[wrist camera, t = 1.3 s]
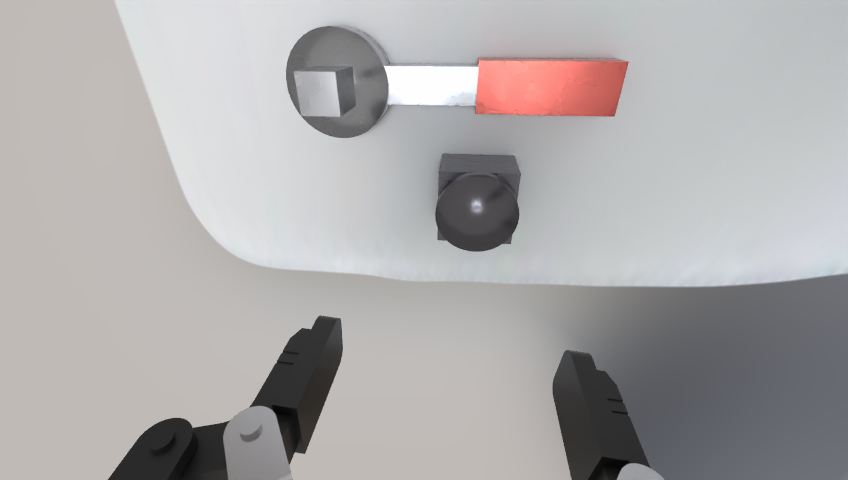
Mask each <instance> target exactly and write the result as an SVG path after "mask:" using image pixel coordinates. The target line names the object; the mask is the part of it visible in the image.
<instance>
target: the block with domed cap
mask: <svg viewBox="0 0 848 480" xmlns="http://www.w3.org/2000/svg"><path fill="white" fill-rule="evenodd" d="M520 176H521V174H520V171H519V168H518V165H517V162H516V159H515V156H500V155H468V154H443V155H442V159H441V164H440V168H439V192H438V202H437V207H436V214H435V215H436V223H437V226H438V240H447V241H448V242H449V243H451V244H452V245H454V246H456V247H458V248H460V249H463V250H467V251H486V250H490V249H493V248H495V247H498V246H499V245H501V244H511V239H512V234H513V232H514V231H515V229H516V227H517V224H518V220H519V208H518V204H517V197H518V190H519V183H520Z"/></svg>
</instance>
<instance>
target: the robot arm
mask: <svg viewBox="0 0 848 480" xmlns="http://www.w3.org/2000/svg"><path fill="white" fill-rule="evenodd" d="M342 351H343V344H342V329H341V320H340V318H333V317H326V316H319V317H318V318H317V319H316V321H315V323H314V325H313V327H312V329H304V328H302V329H301V330H299V331H298V332H297V333H296V334H295V335H294V336H292V337H291V338H290V340H289V341H288V343H287V345H286V346H285V348H284V350H283V353H282V354H281V355H280V357H279V359H278V360H277V363H276V364H275V365H274V367H273V369H272V371H271V372H270V374H269V376H268V378H267V379H266V381H265V383H264V384H263V386H262V388H261V390H260V392H259V393H258V395H257V397H256V398H255V400H254V402H253V403H252V405H251V406H250V407H249V408H247V409H245V410H243V411H241V412H239V413H238V414H237V415H236V416H234V417H233V419H231V420H230V421H227V422H224V423H220V424H214V425H208V426H202V427H196V428H192V426H191V424H190V423H189V422H188V421H187V420H185V419H181V418H171V419H167V420H164V421H161V422H159V423H157V424H155V425H154V426H152V427H151V428H149V429H148V430H146V431H145V432H144V433H143V434H142V435H141V436H140V437H139V439H138V440H137V441H136V442H135V444H134V445H133V447H132V448H131V449H130V451H129V452H128V453H127V455H126V456H125V457H124V459H123V460H122V461H121V463H120V464H119V465H118V467H117V468H116V470H115V471H114V472H113V473H112V475H111V476H110V478H109V479H108V480H293V479H292V475H291V471H290V467H289V464H290V462H291V460H292V458H293V455H294V453H295V452H297V453H303V454H305V452H306V450H307V447H308V445H309V442H310V439H311V437H312V434H313V432H314V429H315V426H316V424H317V421H318V419H319V416H320V414H321V411H322V409H323V406H324V403H325V401H326V398H327V395H328V393H329V391H330V388H331V385H332V383H333V380H334V378H335V375H336V372H337V370H338V367H339V365H340V362H341V357H342ZM553 397H554V402H555V406H556V410H557V415H558V420H559V424H560V429H561V433H562V438H563V442H564V447H565V451H566V456H567V460H568V465H569V469H570V474H571V478H572V480H664V479H663V478H662V477H661V476H660V475H659V474H658V473H656V472H655V471H654V470H652V469H651V468H650V466H649V464H648V461H647V459H646V457H645V454H644V452H643V449H642V447H641V444H640V442H639V439H638V437H637V434H636V432H635V429H634V427H633V424H632V422H631V420H630V417H629V416H628V412H627V410H626V407H625V405H624V404H623V402H622V401H623V400H622V397H621V395H620V392H619V390H618V388H617V385H616V384H615V383H614V381H613V380H612V379H611V378H610V377H609V375H608V374H607V373H606V372H605V371H599V370H597V369H596V367H595V364H594V361H593V359H592V356H591V355H590V354H589V353H584V352H577V351H569V350H566V351H565V352H564V354H563V357H562V359H561V362H560V364H559V367H558V369H557V372H556V374H555V377H554V380H553Z"/></svg>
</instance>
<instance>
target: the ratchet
mask: <svg viewBox="0 0 848 480" xmlns="http://www.w3.org/2000/svg"><path fill="white" fill-rule="evenodd" d="M627 66H628V61H623V60H619V59H600V58H478V64H390V62H389V60H388V58H387V56H386V54H385V52H384V51H383V49H382V48H381V47H380V45H379V44H378V43H377V42H376V41H375V40H374V39H373V38H371V37H370V36H369V35H367V34H366V33H364V32H362V31H360V30H358V29H355V28H351V27H345V26H327V27H320V28H316V29H314V30H311V31H309V32H308V33H306V34H305V35H303V36H302V37H301V38H300V39H299V40H298V41H297V43H296V44H295V45H294V47H293V49H292V50H291V53H290V55H289V58H288V62H287V69H286V80H287V87H288V91H289V94H290V97H291V100H292V102H293V104H294V106H295V107H296V109H297V111H298V112H299V114H300V115H301V116H302V117H303V118H304V119H305V121H306V122H307V123H309V124H310V125H311V126H312V127H313V128H315V129H317V130H318V131H320V132H322V133H324V134H326V135H329V136H333V137H338V138H350V137H355V136H358V135H361V134H363V133H365V132H366V131H368V130H369V129H370V128H371V127H373V126H374V125H375V124H376V123H377V122H378V121H379V120H380V118H381V117H382V116H383V115H384V114H385V113H386V111H387V109H388V108H389V105H390V104H397V105H452V106H475V114H523V115H572V116H615V112H616V108H617V105H618V101H619V97H620V93H621V89H622V85H623V82H624V78H625V74H626V70H627Z"/></svg>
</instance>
